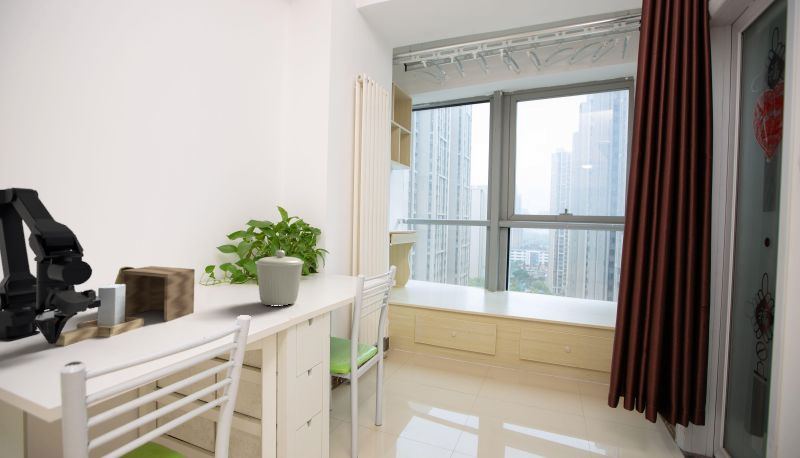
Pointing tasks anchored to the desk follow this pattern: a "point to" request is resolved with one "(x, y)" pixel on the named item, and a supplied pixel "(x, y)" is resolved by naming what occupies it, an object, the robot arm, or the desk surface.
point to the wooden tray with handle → (98, 330)
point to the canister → (279, 279)
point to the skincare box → (111, 305)
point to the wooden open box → (159, 291)
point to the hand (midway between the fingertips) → (52, 343)
